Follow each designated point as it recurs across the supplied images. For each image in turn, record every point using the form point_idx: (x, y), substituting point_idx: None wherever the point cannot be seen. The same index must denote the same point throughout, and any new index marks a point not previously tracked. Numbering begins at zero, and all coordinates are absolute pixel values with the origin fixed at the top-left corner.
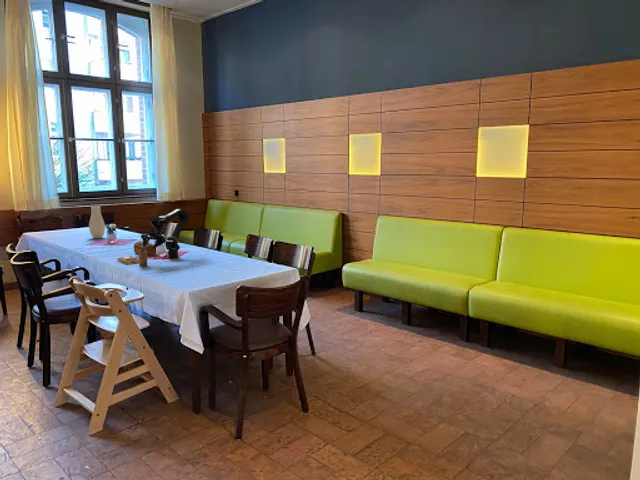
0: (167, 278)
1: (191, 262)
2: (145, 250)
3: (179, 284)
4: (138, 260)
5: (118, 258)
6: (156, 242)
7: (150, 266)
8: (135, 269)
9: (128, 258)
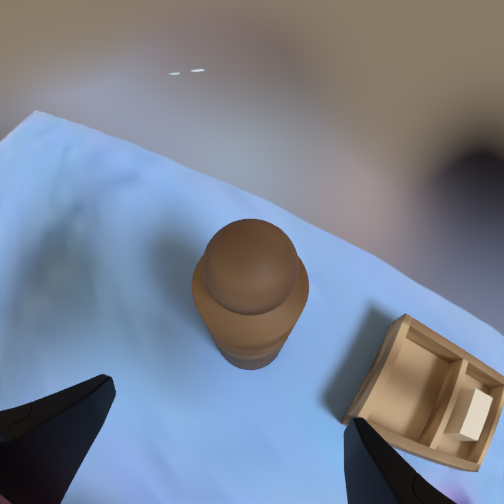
0: (55, 153)
1: None
2: (218, 311)
3: (37, 131)
4: (358, 409)
5: (500, 374)
6: (12, 417)
7: (185, 339)
8: None
9: (462, 418)
